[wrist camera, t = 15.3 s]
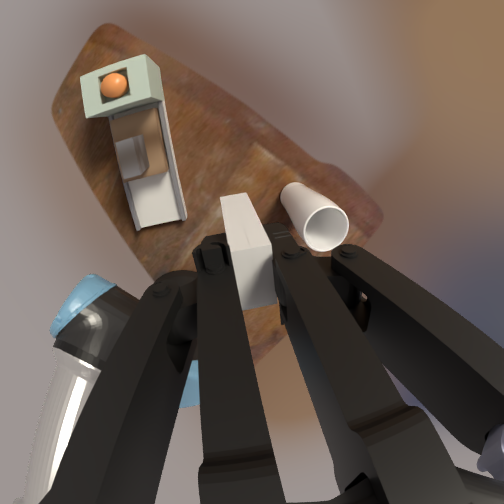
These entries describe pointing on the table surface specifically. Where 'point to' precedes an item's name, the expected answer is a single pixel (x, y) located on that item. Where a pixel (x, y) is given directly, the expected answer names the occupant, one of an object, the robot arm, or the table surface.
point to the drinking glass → (314, 217)
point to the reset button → (114, 85)
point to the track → (155, 183)
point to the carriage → (139, 145)
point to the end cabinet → (139, 93)
